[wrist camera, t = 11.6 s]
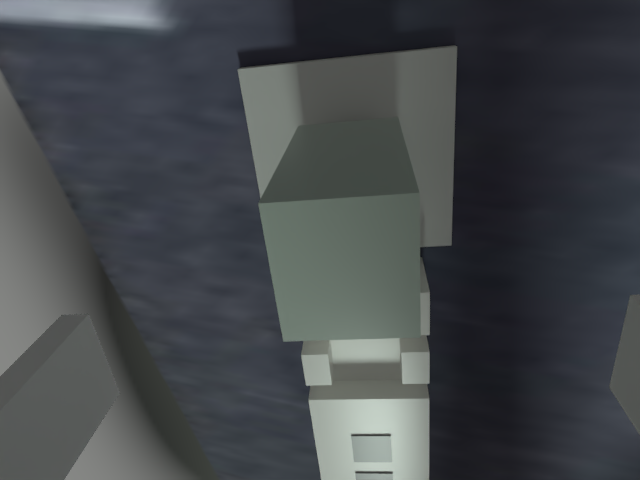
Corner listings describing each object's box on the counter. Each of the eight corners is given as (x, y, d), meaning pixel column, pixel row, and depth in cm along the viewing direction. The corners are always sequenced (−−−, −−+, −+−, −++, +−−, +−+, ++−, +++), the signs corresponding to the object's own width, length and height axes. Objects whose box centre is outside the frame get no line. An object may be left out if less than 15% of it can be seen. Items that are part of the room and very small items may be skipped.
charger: (398, 206, 24) (420, 337, 15) (313, 211, 25) (283, 341, 15) (395, 109, 22) (419, 192, 12) (302, 118, 22) (258, 203, 13)
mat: (449, 240, 25) (451, 245, 25) (272, 249, 27) (270, 254, 26) (454, 45, 21) (457, 46, 20) (240, 67, 22) (237, 69, 21)
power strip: (423, 483, 35) (430, 542, 31) (332, 482, 36) (328, 539, 32) (422, 257, 26) (432, 301, 22) (300, 263, 27) (289, 307, 23)
